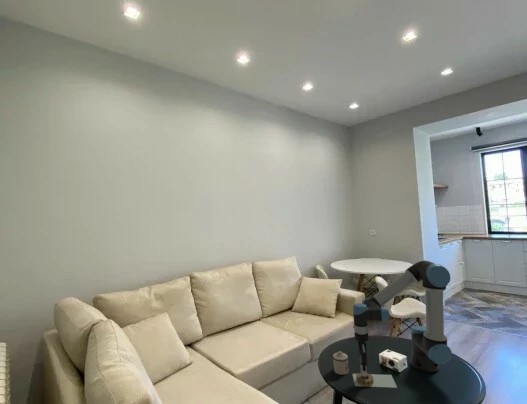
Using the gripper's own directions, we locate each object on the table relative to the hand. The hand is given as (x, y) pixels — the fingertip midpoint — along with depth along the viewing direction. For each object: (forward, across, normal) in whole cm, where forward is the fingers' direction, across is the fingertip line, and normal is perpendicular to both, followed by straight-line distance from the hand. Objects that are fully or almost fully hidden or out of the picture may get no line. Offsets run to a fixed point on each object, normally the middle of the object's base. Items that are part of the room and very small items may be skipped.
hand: (363, 373), depth 163 cm
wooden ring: (+4, 0, 0) cm, 4 cm away
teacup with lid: (+5, -12, -12) cm, 17 cm away
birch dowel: (+4, 0, 0) cm, 4 cm away
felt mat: (+5, -2, +5) cm, 7 cm away
